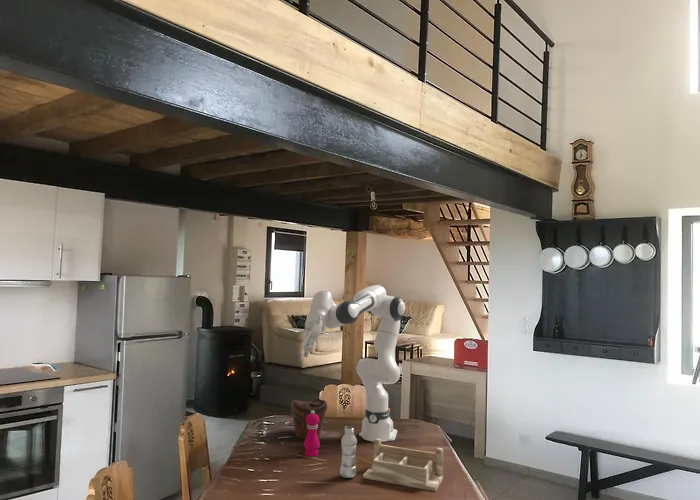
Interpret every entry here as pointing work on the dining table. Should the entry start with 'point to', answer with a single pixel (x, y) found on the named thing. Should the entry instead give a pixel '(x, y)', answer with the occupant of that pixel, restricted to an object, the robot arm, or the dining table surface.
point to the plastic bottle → (348, 453)
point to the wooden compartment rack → (406, 466)
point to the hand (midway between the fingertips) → (307, 352)
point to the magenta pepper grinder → (312, 435)
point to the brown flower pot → (303, 409)
